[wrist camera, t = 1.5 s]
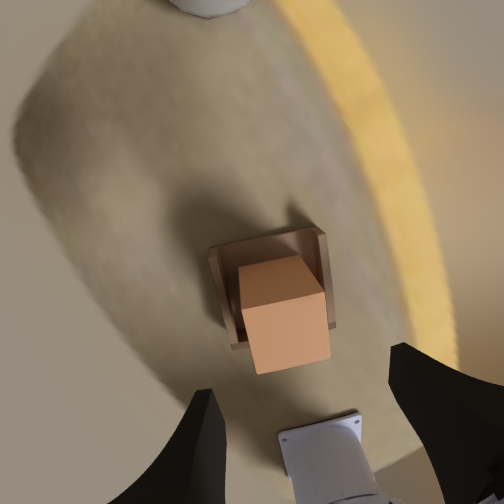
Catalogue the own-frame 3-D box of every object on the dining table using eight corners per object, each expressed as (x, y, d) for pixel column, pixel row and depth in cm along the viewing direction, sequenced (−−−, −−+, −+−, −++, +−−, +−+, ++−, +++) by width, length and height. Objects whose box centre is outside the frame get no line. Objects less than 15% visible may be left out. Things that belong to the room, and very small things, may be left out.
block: (307, 308, 22) (330, 358, 16) (250, 320, 22) (257, 374, 16) (299, 254, 20) (324, 291, 15) (238, 267, 20) (241, 309, 15)
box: (327, 312, 22) (336, 327, 20) (232, 333, 22) (232, 350, 20) (316, 225, 20) (325, 233, 18) (210, 247, 20) (207, 257, 18)
